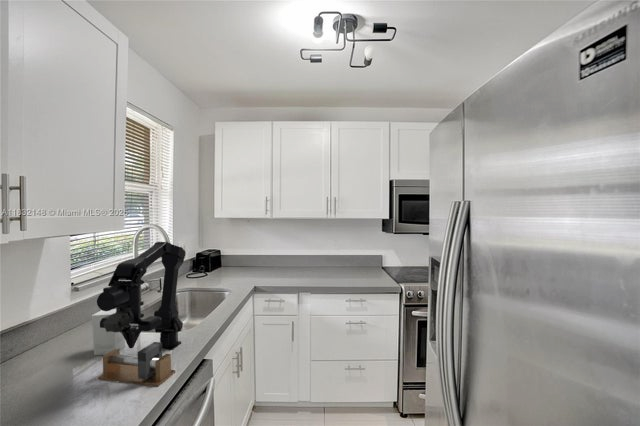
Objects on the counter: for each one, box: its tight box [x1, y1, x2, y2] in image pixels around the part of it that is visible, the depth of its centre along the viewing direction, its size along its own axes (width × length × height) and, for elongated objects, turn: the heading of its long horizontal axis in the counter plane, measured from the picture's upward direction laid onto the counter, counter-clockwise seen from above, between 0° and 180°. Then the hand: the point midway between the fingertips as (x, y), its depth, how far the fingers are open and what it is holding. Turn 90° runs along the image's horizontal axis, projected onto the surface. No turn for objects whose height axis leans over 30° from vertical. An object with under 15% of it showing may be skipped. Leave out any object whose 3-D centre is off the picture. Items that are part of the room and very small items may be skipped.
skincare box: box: [91, 308, 126, 356], centre depth 116 cm, size 8×7×16 cm
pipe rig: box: [97, 349, 176, 388], centre depth 99 cm, size 22×8×7 cm, turn 79°
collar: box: [137, 341, 163, 379], centre depth 98 cm, size 3×7×8 cm, turn 169°
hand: (131, 347), depth 99 cm, fingers closed
